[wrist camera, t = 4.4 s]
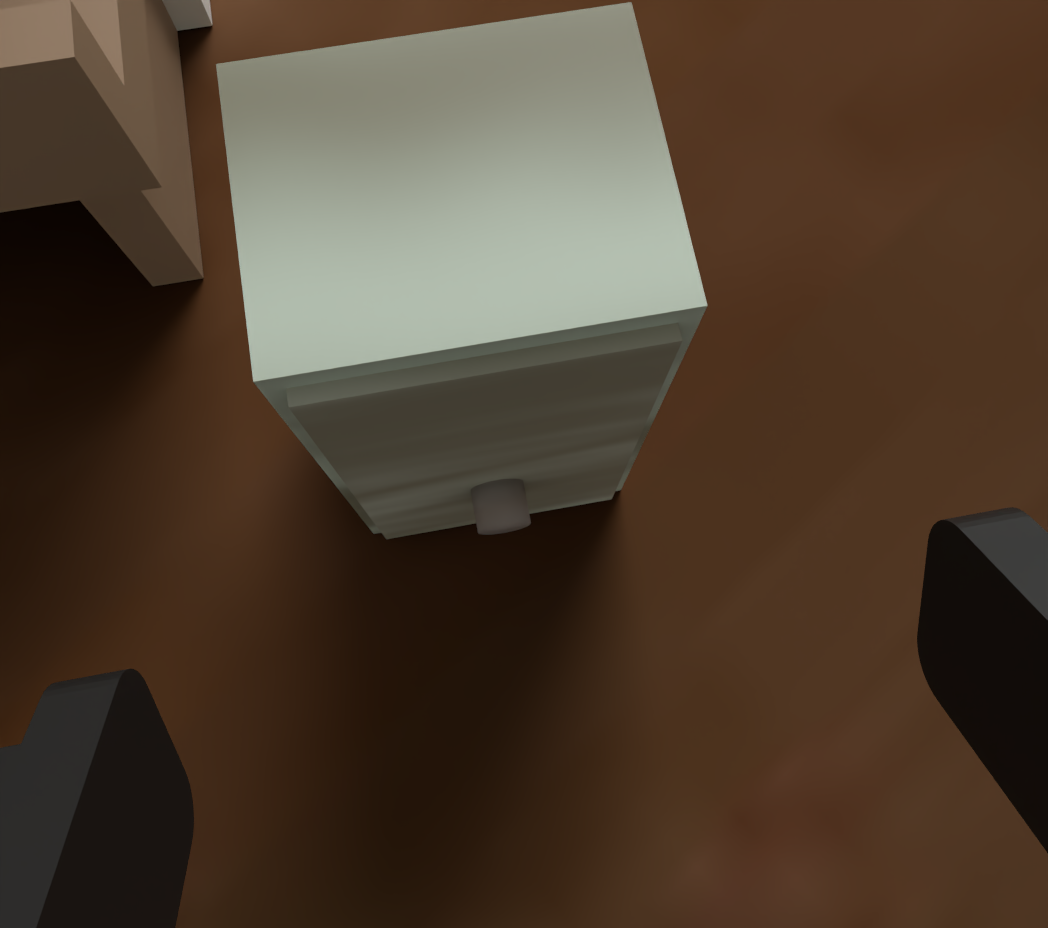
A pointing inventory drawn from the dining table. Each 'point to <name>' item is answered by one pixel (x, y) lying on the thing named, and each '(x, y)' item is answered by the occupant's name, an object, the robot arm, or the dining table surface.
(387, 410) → the sage cabinet
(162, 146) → the white display stand
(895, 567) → the dining table surface
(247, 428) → the dining table surface
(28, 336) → the dining table surface
